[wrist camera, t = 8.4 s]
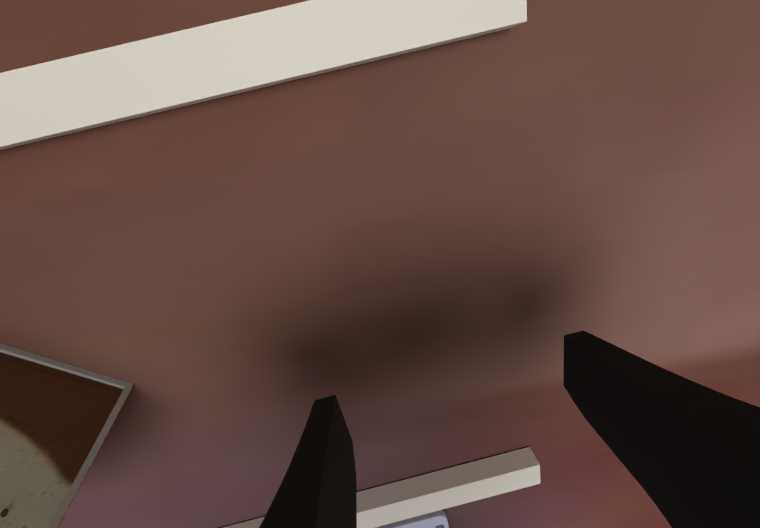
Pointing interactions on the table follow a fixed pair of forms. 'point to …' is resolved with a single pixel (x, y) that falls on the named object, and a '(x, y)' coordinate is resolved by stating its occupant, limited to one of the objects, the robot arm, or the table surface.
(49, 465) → the food container
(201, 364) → the table surface
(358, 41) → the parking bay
